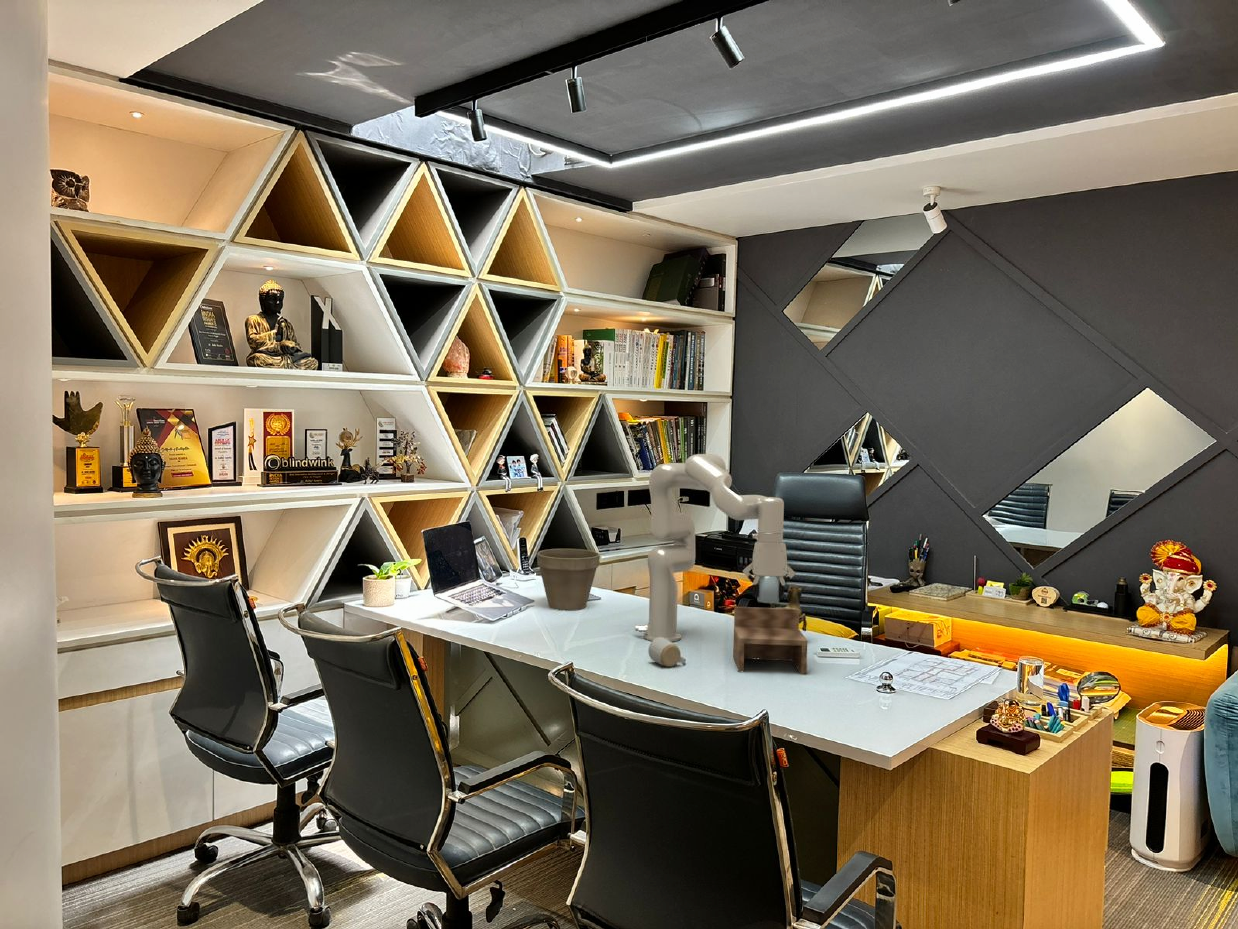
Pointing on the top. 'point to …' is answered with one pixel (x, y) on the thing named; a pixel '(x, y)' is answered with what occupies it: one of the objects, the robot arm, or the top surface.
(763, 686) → the top surface
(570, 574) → the plant pot
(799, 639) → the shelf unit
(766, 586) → the grey cylinder
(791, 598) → the figurine
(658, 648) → the ceramic mug
